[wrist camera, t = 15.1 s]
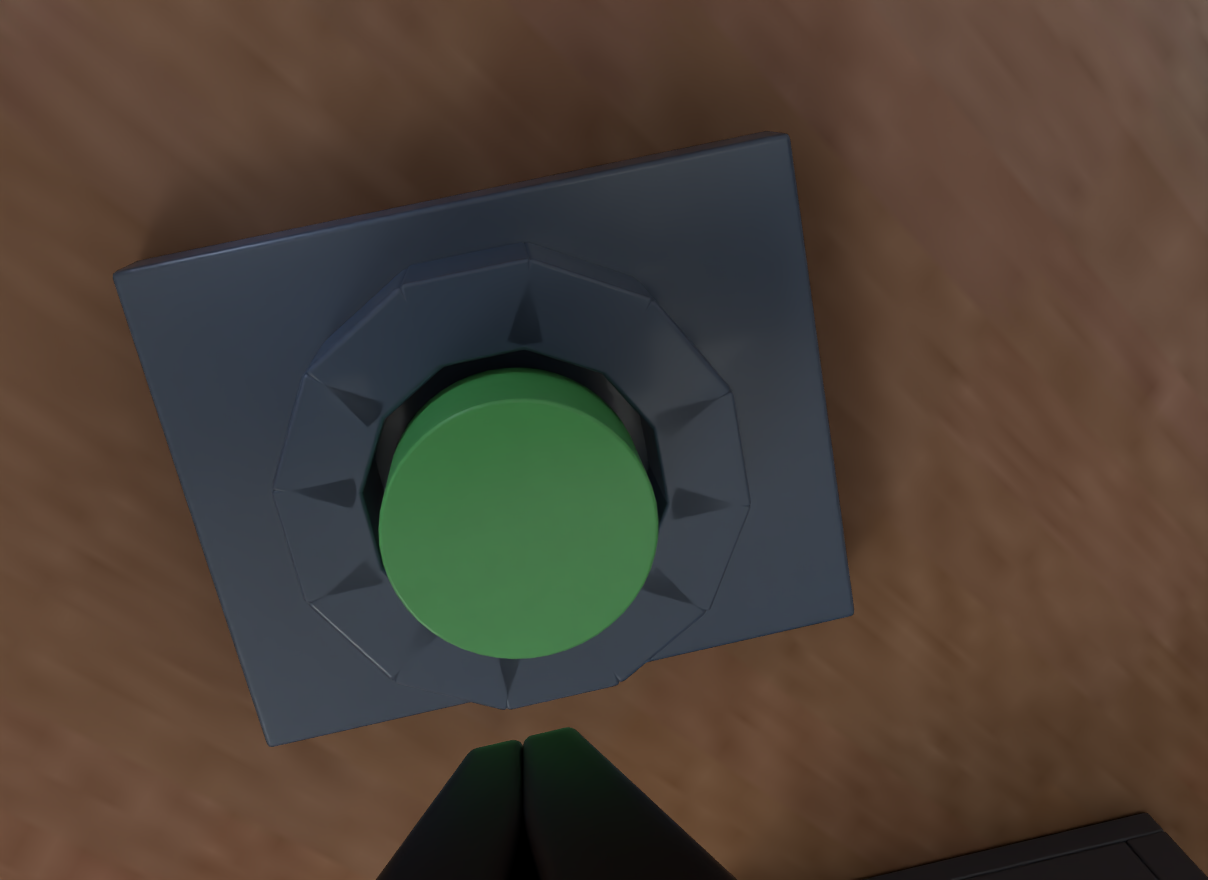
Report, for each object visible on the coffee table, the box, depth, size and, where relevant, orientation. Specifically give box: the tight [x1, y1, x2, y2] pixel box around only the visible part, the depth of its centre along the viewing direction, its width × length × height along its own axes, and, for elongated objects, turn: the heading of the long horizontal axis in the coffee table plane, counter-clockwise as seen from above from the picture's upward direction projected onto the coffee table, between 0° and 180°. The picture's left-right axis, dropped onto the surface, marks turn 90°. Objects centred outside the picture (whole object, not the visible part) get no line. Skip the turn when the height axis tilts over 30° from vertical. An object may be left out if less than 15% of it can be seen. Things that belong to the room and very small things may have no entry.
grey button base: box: [113, 131, 854, 747], centre depth 17 cm, size 10×8×3 cm
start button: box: [378, 367, 659, 659], centre depth 15 cm, size 4×4×2 cm
